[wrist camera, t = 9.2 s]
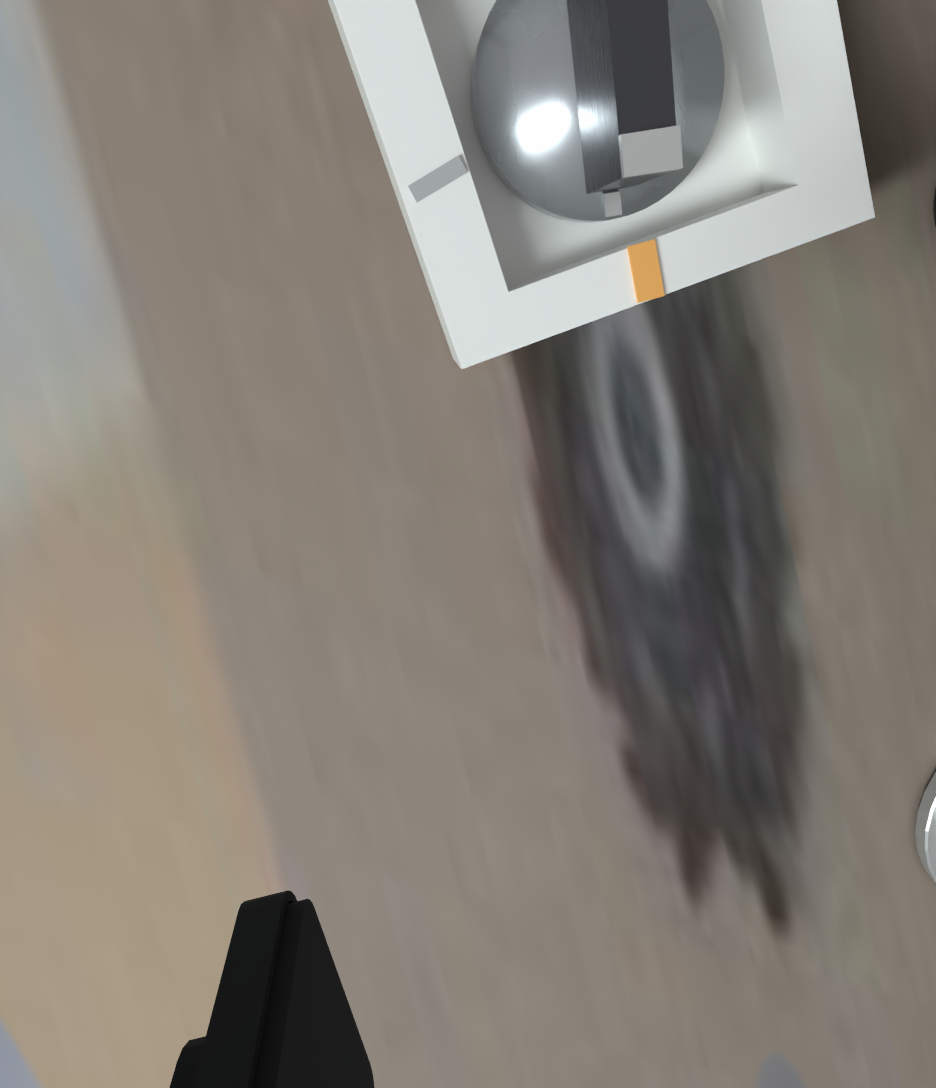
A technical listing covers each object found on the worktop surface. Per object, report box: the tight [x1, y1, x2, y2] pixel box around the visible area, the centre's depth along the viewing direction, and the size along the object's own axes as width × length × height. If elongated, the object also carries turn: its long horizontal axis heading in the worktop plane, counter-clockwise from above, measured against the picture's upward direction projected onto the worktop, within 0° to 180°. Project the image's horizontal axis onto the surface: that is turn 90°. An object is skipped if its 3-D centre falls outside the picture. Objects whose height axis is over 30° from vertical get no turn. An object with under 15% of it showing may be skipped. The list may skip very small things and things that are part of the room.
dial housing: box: [328, 0, 875, 369], centre depth 30 cm, size 15×16×5 cm
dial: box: [470, 0, 724, 223], centre depth 28 cm, size 9×9×7 cm
